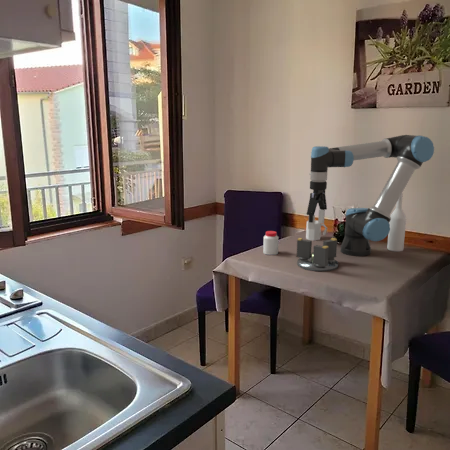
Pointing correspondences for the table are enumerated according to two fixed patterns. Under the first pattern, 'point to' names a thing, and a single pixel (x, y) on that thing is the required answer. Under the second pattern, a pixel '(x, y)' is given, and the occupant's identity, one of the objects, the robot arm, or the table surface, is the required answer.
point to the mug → (315, 231)
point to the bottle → (397, 228)
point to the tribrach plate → (311, 266)
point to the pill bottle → (270, 243)
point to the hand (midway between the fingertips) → (316, 226)
